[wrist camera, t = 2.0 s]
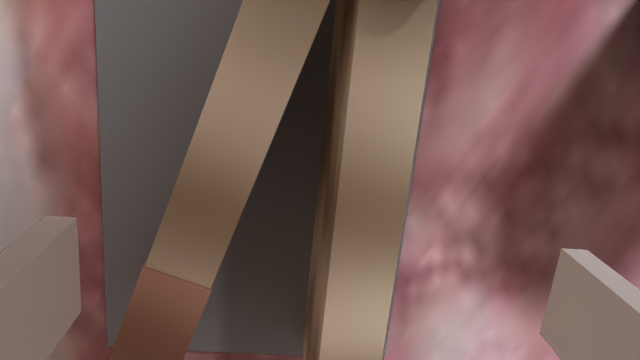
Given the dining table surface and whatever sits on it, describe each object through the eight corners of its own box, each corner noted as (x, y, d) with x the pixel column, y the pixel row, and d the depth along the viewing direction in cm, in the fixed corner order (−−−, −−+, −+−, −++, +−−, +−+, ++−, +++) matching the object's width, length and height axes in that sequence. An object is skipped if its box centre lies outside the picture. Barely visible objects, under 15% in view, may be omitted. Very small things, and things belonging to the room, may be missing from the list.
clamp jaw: (277, -50, 19) (271, -83, 12) (330, -25, 19) (350, -45, 13) (142, 307, 23) (85, 423, 16) (188, 322, 23) (148, 441, 17)
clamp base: (344, -85, 19) (382, -152, 11) (398, -79, 19) (472, -140, 11) (302, 337, 24) (308, 486, 17) (344, 340, 24) (369, 488, 17)
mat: (95, -112, 18) (90, -115, 18) (447, -71, 20) (451, -73, 19) (110, 340, 24) (106, 346, 24) (382, 353, 25) (383, 359, 25)
